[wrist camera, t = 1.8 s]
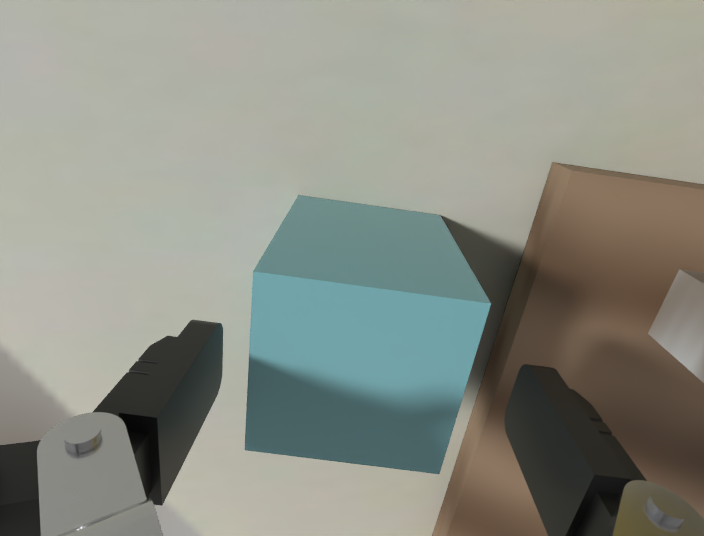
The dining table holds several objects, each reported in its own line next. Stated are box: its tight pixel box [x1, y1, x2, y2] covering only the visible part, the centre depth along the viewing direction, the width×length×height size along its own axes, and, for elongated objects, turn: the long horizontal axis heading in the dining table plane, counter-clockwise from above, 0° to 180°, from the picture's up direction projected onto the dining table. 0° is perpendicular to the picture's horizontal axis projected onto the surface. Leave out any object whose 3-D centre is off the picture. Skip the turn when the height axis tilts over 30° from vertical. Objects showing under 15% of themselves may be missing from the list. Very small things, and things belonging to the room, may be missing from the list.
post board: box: [432, 162, 704, 536], centre depth 16 cm, size 20×12×6 cm, turn 172°
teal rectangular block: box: [245, 195, 491, 474], centre depth 13 cm, size 5×5×7 cm
